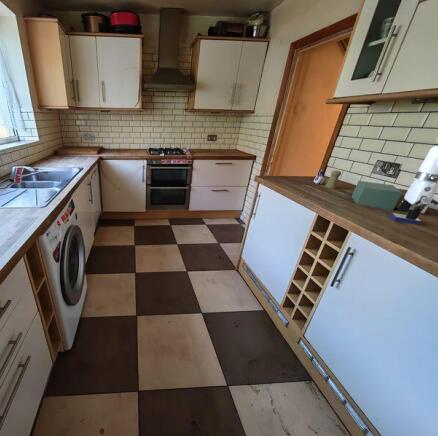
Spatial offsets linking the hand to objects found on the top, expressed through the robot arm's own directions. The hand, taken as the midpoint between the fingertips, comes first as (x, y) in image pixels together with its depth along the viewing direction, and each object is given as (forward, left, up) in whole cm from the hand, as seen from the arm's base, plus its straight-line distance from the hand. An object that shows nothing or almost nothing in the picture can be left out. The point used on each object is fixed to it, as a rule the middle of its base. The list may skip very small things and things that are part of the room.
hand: (406, 215), depth 101 cm
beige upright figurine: (+22, -49, -4) cm, 54 cm away
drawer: (-8, -26, -3) cm, 28 cm away
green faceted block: (+6, -26, -4) cm, 27 cm away
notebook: (0, 0, -4) cm, 4 cm away
